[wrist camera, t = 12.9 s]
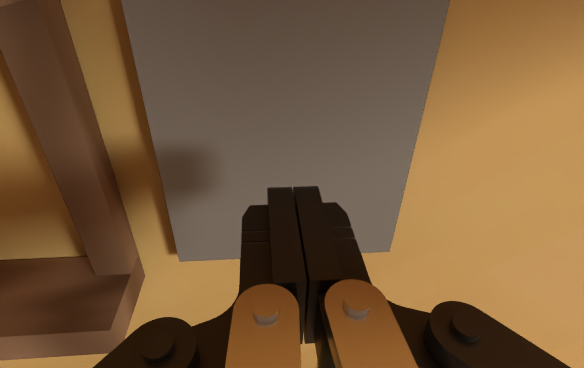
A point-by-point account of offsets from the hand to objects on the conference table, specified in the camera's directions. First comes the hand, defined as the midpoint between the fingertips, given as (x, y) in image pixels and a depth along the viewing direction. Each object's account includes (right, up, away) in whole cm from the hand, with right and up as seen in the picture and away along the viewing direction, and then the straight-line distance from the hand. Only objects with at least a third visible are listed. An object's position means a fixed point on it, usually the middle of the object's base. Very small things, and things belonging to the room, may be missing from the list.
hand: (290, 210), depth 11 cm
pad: (0, +2, +4) cm, 4 cm away
